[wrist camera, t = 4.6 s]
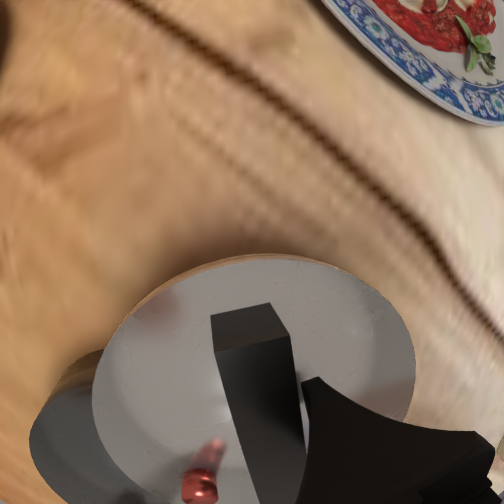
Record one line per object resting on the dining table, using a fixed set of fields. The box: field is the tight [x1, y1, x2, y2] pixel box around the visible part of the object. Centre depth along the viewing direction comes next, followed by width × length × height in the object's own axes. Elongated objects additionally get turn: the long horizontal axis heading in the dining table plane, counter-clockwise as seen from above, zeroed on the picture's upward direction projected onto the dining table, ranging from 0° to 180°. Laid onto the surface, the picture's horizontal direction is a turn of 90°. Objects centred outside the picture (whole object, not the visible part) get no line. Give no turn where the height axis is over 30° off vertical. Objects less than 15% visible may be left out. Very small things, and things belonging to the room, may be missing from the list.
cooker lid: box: [92, 253, 416, 504], centre depth 11 cm, size 16×14×4 cm
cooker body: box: [29, 349, 172, 504], centre depth 16 cm, size 16×18×5 cm
